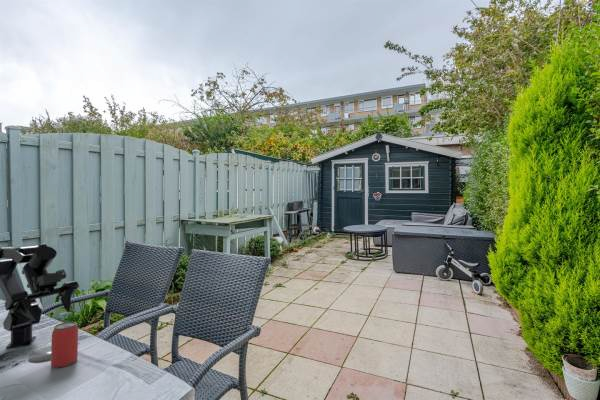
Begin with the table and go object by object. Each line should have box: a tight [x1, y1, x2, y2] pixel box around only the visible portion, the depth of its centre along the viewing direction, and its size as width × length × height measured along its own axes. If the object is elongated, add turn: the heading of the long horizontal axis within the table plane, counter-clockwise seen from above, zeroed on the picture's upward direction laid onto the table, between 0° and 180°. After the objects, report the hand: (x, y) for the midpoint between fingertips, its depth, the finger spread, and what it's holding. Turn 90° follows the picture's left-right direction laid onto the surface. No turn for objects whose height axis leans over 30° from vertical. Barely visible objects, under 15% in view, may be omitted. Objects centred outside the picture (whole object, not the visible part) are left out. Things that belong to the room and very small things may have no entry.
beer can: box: [50, 321, 79, 368], centre depth 94 cm, size 7×7×12 cm
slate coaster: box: [28, 345, 52, 363], centre depth 99 cm, size 10×10×1 cm
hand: (53, 316), depth 97 cm, fingers open, 9 cm apart
